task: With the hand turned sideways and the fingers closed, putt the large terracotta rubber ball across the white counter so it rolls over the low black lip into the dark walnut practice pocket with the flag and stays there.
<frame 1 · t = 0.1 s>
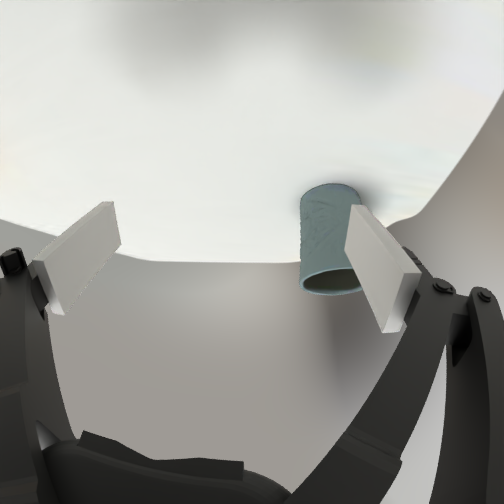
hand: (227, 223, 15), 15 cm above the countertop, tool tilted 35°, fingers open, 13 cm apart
drinking glass: (331, 200, 38), on the countertop
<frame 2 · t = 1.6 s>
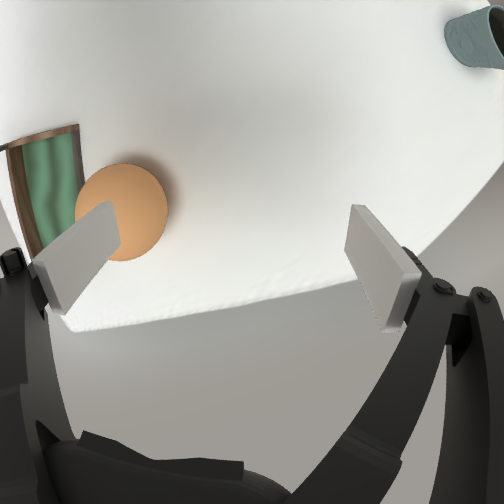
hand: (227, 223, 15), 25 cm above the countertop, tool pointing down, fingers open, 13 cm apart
practice pocket: (55, 199, 40), on the countertop
ball: (120, 212, 35), point 6 cm above the countertop
drinking glass: (463, 41, 24), on the countertop
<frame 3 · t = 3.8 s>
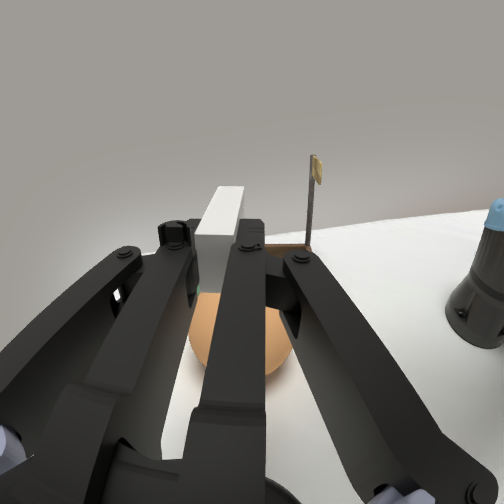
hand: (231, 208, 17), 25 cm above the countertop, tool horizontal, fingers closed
practice pocket: (246, 284, 52), on the countertop
ball: (242, 327, 33), point 6 cm above the countertop
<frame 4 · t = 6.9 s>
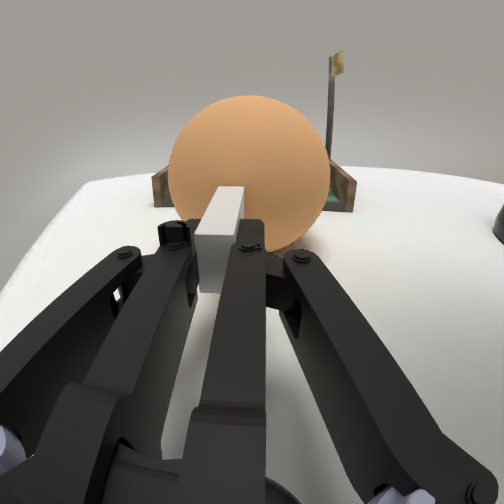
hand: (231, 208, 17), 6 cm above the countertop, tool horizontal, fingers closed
practice pocket: (254, 190, 41), on the countertop
ball: (249, 174, 22), point 6 cm above the countertop, touching gripper
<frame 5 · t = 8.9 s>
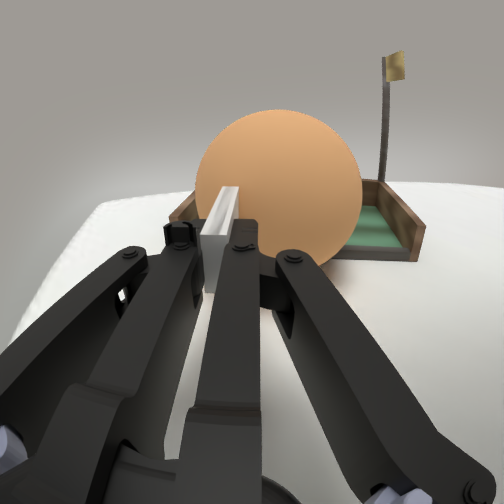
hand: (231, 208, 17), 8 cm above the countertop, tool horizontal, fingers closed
practice pocket: (298, 224, 33), on the countertop
ball: (279, 191, 22), point 7 cm above the countertop, tilted 51°, touching gripper, practice pocket
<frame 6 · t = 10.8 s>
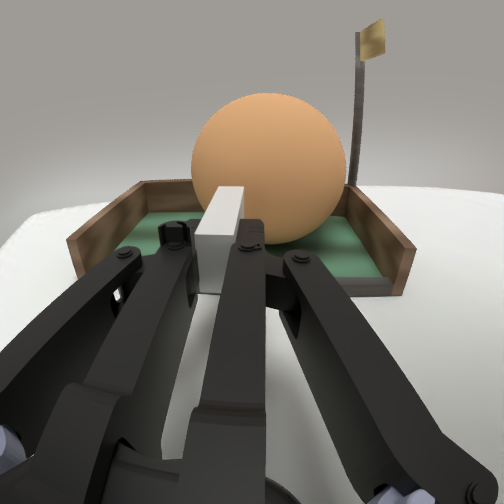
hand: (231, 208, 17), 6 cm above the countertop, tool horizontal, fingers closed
practice pocket: (240, 244, 26), on the countertop
ball: (268, 167, 23), point 7 cm above the countertop, tilted 83°, touching practice pocket
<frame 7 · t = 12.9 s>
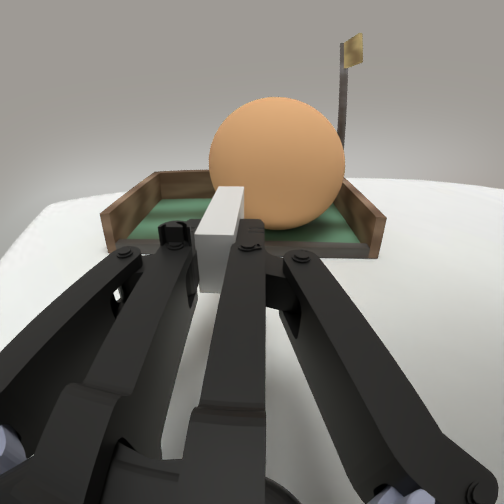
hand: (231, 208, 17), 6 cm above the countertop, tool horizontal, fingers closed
practice pocket: (243, 221, 31), on the countertop
ball: (277, 162, 26), point 7 cm above the countertop, tilted 75°, touching practice pocket
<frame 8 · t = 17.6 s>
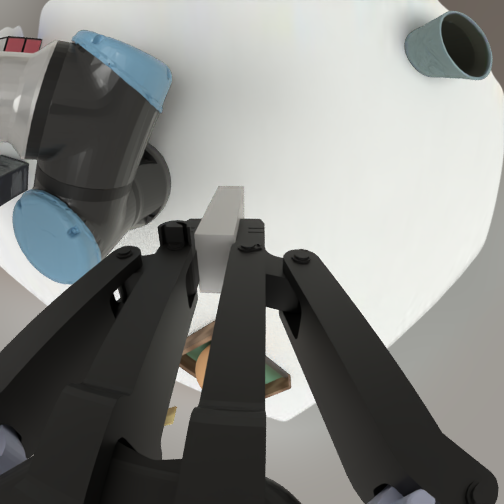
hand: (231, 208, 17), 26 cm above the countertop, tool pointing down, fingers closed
practice pocket: (233, 362, 63), on the countertop
puzzle cube: (22, 63, 30), on the countertop
ball: (227, 370, 54), point 7 cm above the countertop, tilted 76°, touching practice pocket
small box: (14, 172, 41), on the countertop
drinking glass: (424, 52, 30), on the countertop
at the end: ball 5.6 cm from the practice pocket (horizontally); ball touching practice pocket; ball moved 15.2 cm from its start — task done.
